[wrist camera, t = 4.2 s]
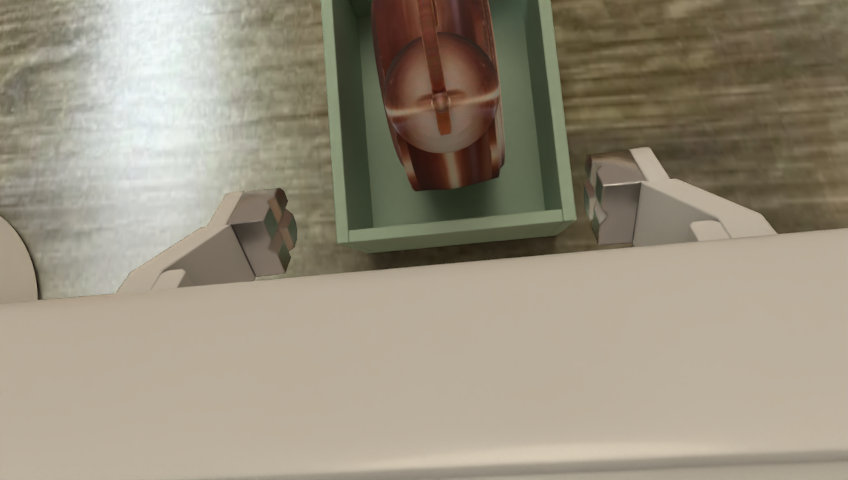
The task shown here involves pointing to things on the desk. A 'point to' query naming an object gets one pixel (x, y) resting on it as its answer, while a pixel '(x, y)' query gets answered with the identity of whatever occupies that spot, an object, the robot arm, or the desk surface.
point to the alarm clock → (440, 89)
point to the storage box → (461, 207)
